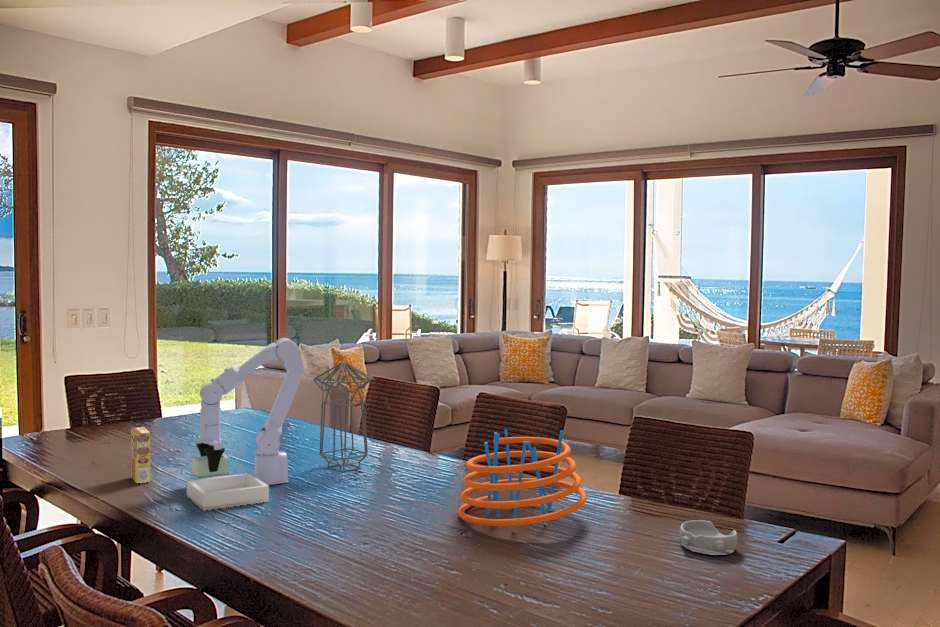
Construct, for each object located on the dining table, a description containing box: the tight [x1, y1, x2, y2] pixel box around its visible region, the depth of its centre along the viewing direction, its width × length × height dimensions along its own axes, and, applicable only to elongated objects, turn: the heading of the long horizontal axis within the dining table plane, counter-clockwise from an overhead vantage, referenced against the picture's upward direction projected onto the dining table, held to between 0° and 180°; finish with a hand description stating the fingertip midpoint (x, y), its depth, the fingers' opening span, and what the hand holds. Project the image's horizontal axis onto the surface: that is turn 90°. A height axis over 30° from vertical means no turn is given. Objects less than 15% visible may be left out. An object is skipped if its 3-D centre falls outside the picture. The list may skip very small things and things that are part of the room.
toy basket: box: [457, 428, 587, 527], centre depth 219 cm, size 34×35×24 cm
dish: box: [679, 519, 738, 551], centre depth 200 cm, size 14×14×5 cm
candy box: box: [130, 426, 151, 485], centre depth 245 cm, size 9×4×15 cm, turn 33°
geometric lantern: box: [312, 361, 375, 472], centre depth 268 cm, size 16×16×35 cm
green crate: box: [191, 453, 229, 479], centre depth 242 cm, size 9×6×5 cm, turn 125°
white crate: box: [186, 472, 270, 512], centre depth 229 cm, size 18×16×4 cm
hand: (210, 469), depth 242 cm, fingers closed on green crate, 6 cm apart
